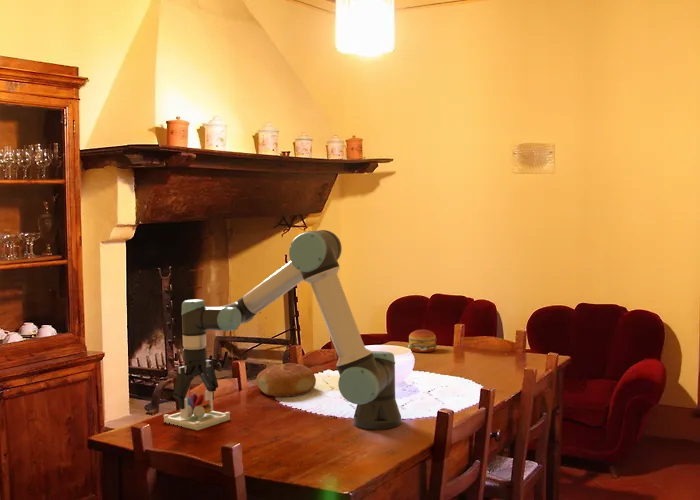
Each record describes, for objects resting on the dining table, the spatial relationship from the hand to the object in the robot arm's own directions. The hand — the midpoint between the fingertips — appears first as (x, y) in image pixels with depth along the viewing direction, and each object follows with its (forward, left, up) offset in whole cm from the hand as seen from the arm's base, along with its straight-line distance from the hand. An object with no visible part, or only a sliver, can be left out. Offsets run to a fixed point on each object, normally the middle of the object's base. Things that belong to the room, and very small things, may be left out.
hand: (197, 414), depth 254 cm
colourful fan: (0, 0, -1) cm, 1 cm away
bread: (+2, -46, -3) cm, 46 cm away
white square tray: (0, 0, -2) cm, 2 cm away
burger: (-2, -138, -2) cm, 138 cm away
